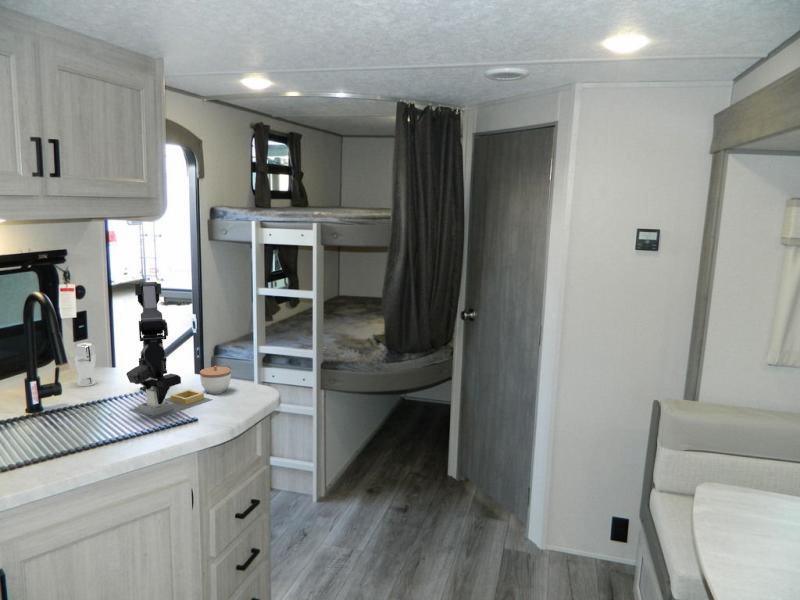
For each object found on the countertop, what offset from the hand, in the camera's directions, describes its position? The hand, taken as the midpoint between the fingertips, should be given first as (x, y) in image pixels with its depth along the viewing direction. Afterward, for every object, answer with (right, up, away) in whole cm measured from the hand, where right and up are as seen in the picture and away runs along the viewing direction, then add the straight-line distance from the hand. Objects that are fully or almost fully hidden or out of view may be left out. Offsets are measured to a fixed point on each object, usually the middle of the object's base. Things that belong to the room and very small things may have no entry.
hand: (156, 402), depth 183 cm
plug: (0, -3, 0) cm, 2 cm away
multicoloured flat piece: (+3, -3, +6) cm, 7 cm away
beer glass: (-38, +1, +29) cm, 48 cm away
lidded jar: (+12, 0, +24) cm, 26 cm away
